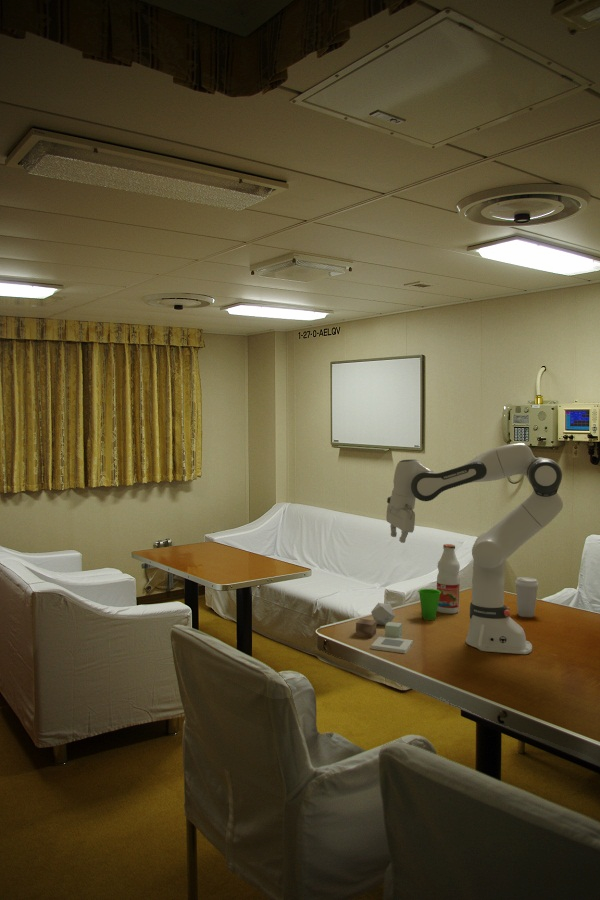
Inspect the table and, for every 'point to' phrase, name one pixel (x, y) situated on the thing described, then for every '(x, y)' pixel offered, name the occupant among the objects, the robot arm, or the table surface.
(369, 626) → the walnut block
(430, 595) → the cup
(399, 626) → the sage block
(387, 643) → the plate
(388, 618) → the white block
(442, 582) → the fruit juice
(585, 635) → the table surface
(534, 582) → the coffee cup
